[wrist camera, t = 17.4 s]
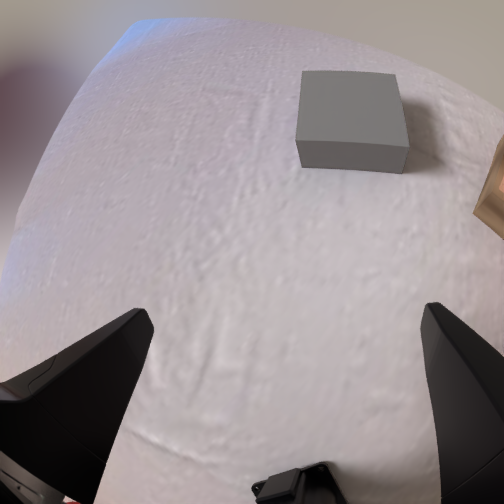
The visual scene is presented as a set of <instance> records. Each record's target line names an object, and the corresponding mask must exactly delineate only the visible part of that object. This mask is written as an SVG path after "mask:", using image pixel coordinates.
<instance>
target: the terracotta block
mask: <svg viewBox="0 0 504 504" xmlns="http://www.w3.org/2000/svg"><path fill="white" fill-rule="evenodd" d="M499 189H500V190H501V191H502V192H503V193H504V177H503V179H502V182H501V185H500V187H499Z"/></svg>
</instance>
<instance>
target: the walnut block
mask: <svg viewBox="0 0 504 504" xmlns="http://www.w3.org/2000/svg"><path fill="white" fill-rule="evenodd" d="M503 177H504V135H503V137H502V139H501V140H500V142H499V144H498V145H497V149H496V152H495V155H494V158H493V161H492V164H491V167H490V170H489V173H488V176H487V179H486V181H485V184H484V187H483V189H482V192H481V194H480V197H479V199H478V202H477V204H476V207H475V209H474V211H473V214H474V215H475V216H476V217H478V218H479V219H480V220H481V221H482V222H484V223H485V224H486V225H487V226H488V227H490V228H491V229H492V230H493V231H494V232H495V233H497V234H498V235H499V236H500V237H501V238H502V239H503V240H504V193H503V192H502V191H501V190H500V189H499V187H500V185H501V182H502V179H503Z"/></svg>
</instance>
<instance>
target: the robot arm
mask: <svg viewBox="0 0 504 504" xmlns="http://www.w3.org/2000/svg"><path fill="white" fill-rule="evenodd" d="M420 330H421V338H422V345H423V353H424V362H425V371H426V378H427V383H428V388H429V393H430V398H431V404H432V410H433V416H434V422H435V429H436V436H437V445H438V454H439V465H440V479H441V497H442V498H441V504H504V356H502V355H501V354H500V353H499V352H498V351H497V350H496V349H495V348H493V347H492V346H491V345H490V344H489V343H488V342H487V341H485V340H484V339H483V338H482V337H481V336H480V335H478V334H477V333H476V332H475V331H474V330H473V329H471V328H470V327H469V326H468V325H467V324H465V323H464V322H463V321H462V320H461V319H459V318H458V317H457V316H456V315H454V314H453V313H452V312H451V311H449V310H448V309H447V308H446V307H444V306H443V305H442V304H441V303H439V302H433V303H427V304H426V305H425V308H424V312H423V317H422V321H421V328H420ZM153 334H154V326H153V324H152V322H151V320H150V318H149V315H148V313H147V311H146V310H145V309H143V308H134V309H132V310H130V311H128V312H127V313H125V314H123V315H122V316H120V317H118V318H116V319H115V320H113V321H111V322H110V323H108V324H106V325H104V326H103V327H101V328H99V329H98V330H96V331H94V332H93V333H91V334H89V335H88V336H86V337H84V338H82V339H81V340H79V341H77V342H76V343H74V344H72V345H71V346H69V347H67V348H66V349H64V350H62V351H61V352H59V353H58V354H56V355H54V356H52V357H51V358H49V359H47V360H45V361H44V362H42V363H40V364H38V365H36V366H35V367H33V368H31V369H29V370H27V371H25V372H23V373H21V374H19V375H17V376H15V377H13V378H11V379H9V380H7V381H5V382H2V383H0V504H67V503H65V502H64V501H63V500H64V498H65V496H67V497H69V498H71V499H73V500H75V501H77V502H78V503H80V504H93V503H94V500H95V497H96V494H97V491H98V488H99V485H100V482H101V478H102V476H103V473H104V470H105V467H106V463H107V460H108V458H109V455H110V452H111V449H112V446H113V444H114V441H115V438H116V435H117V433H118V430H119V427H120V425H121V422H122V419H123V417H124V414H125V412H126V409H127V406H128V404H129V401H130V399H131V396H132V394H133V391H134V389H135V386H136V384H137V381H138V379H139V376H140V374H141V371H142V369H143V366H144V363H145V359H146V356H147V353H148V350H149V346H150V343H151V340H152V337H153ZM321 466H322V467H324V469H322V470H320V469H319V468H318V467H321ZM256 487H259V488H260V489H257V488H256ZM251 489H252V491H253V493H254V495H255V496H256V500H255V502H256V503H257V504H348V502H347V500H346V498H345V497H344V495H343V493H342V491H341V489H340V487H339V485H338V484H337V482H336V480H335V478H334V476H333V474H332V472H331V470H330V469H329V467H328V465H327V464H326V463H325V462H319V463H316V464H313V465H311V466H308V467H305V468H302V469H299V468H295V469H292V470H289V471H286V472H283V473H280V474H276V475H273V476H270V477H269V478H268V479H267V480H264V481H260V482H256V483H254V484H253V486H252V488H251Z"/></svg>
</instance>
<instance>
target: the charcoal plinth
mask: <svg viewBox="0 0 504 504" xmlns="http://www.w3.org/2000/svg"><path fill="white" fill-rule="evenodd" d="M295 141H296V145H297V149H298V153H299V157H300V161H301V166H302V167H303V168H330V169H349V170H364V171H376V172H388V173H398V174H402V171H403V168H404V164H405V161H406V158H407V155H408V151H409V148H410V146H409V139H408V133H407V127H406V122H405V116H404V111H403V106H402V102H401V97H400V93H399V88H398V84H397V80H396V76H395V75H394V74H384V73H372V72H356V71H302V79H301V90H300V100H299V111H298V120H297V130H296V139H295Z"/></svg>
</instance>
